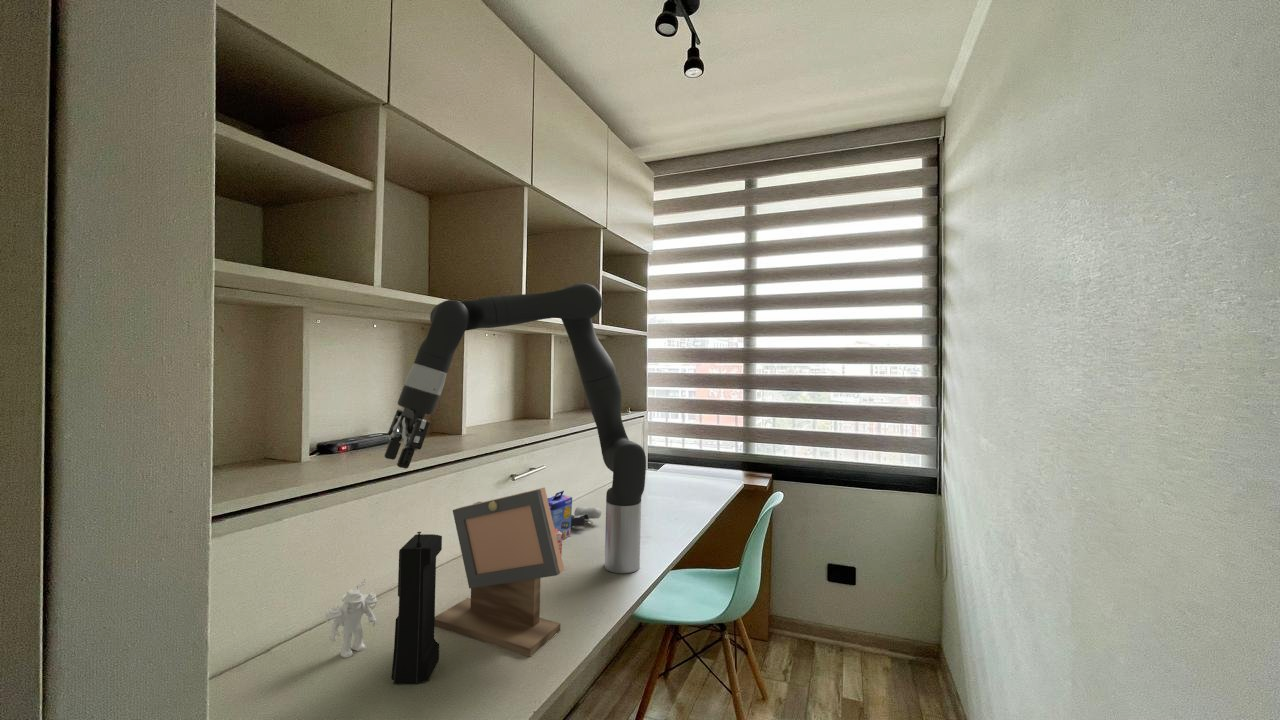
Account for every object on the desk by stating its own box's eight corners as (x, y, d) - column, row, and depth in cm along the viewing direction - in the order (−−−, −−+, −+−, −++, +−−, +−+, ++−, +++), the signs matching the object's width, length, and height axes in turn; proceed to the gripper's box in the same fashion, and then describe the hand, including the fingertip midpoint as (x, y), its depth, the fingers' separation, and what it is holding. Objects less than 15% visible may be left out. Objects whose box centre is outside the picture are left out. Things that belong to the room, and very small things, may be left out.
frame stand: (467, 604, 112) (470, 497, 112) (560, 630, 103) (563, 513, 103) (431, 625, 103) (434, 509, 103) (529, 656, 93) (533, 528, 93)
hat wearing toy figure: (370, 636, 99) (371, 574, 99) (381, 643, 97) (383, 579, 97) (320, 659, 91) (322, 591, 91) (331, 666, 89) (333, 597, 89)
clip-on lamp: (543, 531, 170) (583, 530, 159) (539, 512, 170) (579, 510, 160) (567, 519, 179) (607, 518, 169) (564, 501, 180) (602, 498, 169)
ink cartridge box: (551, 546, 148) (552, 496, 148) (536, 542, 151) (537, 493, 151) (572, 536, 157) (573, 488, 157) (557, 532, 160) (558, 486, 160)
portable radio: (406, 657, 92) (409, 518, 92) (441, 656, 93) (444, 518, 93) (389, 685, 85) (392, 533, 84) (426, 684, 85) (430, 533, 85)
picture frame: (477, 583, 106) (461, 507, 108) (564, 570, 98) (544, 487, 100) (467, 589, 104) (450, 510, 105) (555, 576, 95) (535, 490, 97)
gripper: (452, 397, 107) (424, 474, 104) (427, 389, 117) (402, 459, 115) (417, 387, 102) (387, 467, 99) (395, 380, 112) (367, 452, 110)
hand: (395, 462), depth 107 cm, fingers open, 8 cm apart
